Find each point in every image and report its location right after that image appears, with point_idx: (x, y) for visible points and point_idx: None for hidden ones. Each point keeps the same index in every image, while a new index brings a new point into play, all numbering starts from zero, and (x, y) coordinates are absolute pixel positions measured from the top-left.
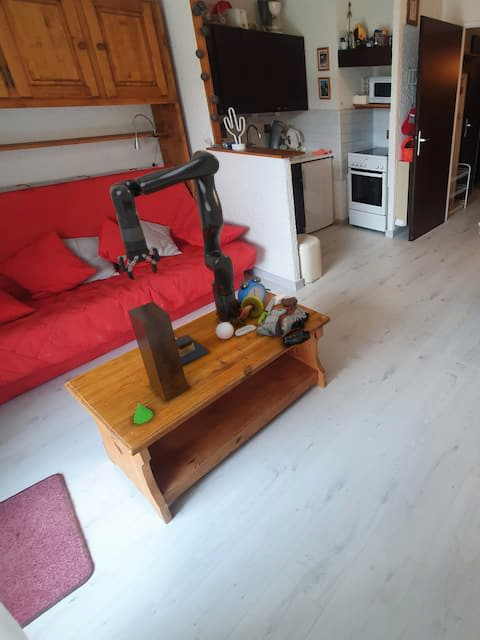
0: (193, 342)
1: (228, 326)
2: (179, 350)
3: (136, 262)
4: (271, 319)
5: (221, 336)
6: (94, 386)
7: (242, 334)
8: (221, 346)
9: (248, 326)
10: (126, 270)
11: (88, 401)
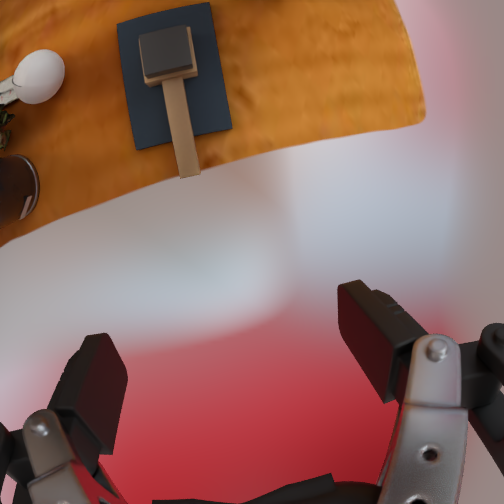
0: (132, 89)
1: (21, 62)
2: (188, 29)
3: (347, 495)
4: None
5: (57, 54)
6: (398, 82)
7: None
8: (78, 42)
9: None
10: (461, 355)
11: (409, 44)
